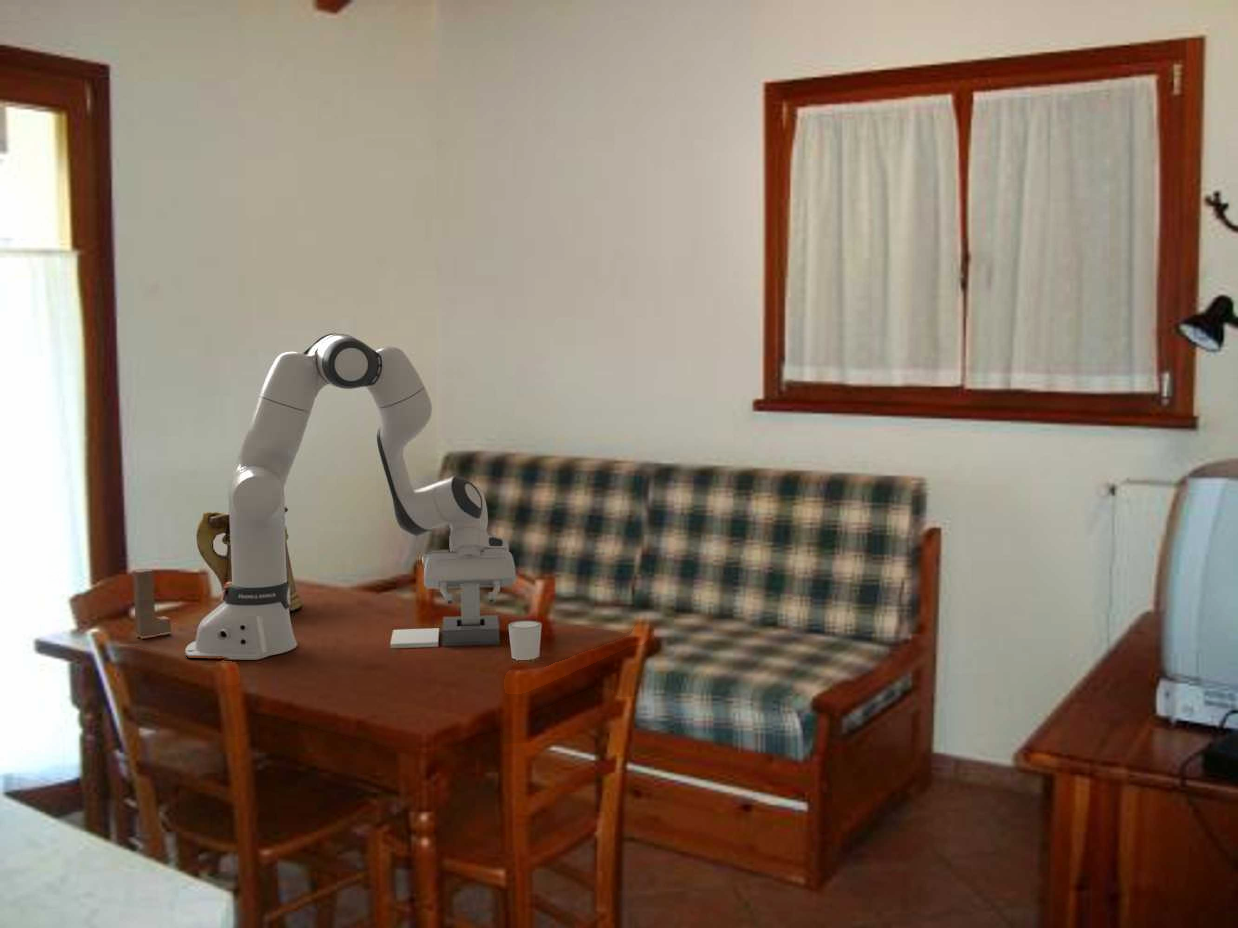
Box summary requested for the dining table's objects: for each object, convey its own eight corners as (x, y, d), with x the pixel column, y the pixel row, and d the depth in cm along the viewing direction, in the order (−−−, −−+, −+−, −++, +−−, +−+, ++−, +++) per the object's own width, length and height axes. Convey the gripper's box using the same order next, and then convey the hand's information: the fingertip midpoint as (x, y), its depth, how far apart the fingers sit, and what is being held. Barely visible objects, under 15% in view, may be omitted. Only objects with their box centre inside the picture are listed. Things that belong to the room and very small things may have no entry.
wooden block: (141, 639, 269) (137, 572, 267) (135, 637, 271) (132, 570, 269) (171, 634, 273) (167, 568, 271) (165, 631, 275) (162, 566, 274)
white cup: (548, 655, 254) (548, 622, 253) (528, 663, 248) (528, 629, 248) (522, 651, 258) (521, 618, 257) (501, 658, 252) (501, 625, 251)
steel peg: (461, 640, 266) (460, 586, 265) (461, 636, 270) (460, 582, 269) (480, 640, 267) (479, 585, 265) (480, 635, 271) (479, 582, 269)
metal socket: (442, 646, 262) (442, 630, 261) (443, 632, 274) (443, 616, 273) (499, 644, 263) (499, 628, 263) (497, 630, 275) (497, 615, 275)
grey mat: (390, 648, 260) (390, 643, 260) (393, 634, 272) (393, 629, 272) (438, 646, 262) (438, 641, 262) (439, 632, 273) (439, 628, 273)
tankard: (311, 612, 293) (307, 509, 290) (210, 625, 281) (205, 517, 278) (288, 598, 308) (284, 499, 305) (191, 610, 296) (186, 507, 293)
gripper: (421, 542, 273) (421, 595, 264) (514, 540, 275) (517, 592, 267) (422, 558, 278) (422, 611, 269) (513, 555, 280) (516, 607, 272)
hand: (470, 601), depth 268 cm, fingers open, 8 cm apart
